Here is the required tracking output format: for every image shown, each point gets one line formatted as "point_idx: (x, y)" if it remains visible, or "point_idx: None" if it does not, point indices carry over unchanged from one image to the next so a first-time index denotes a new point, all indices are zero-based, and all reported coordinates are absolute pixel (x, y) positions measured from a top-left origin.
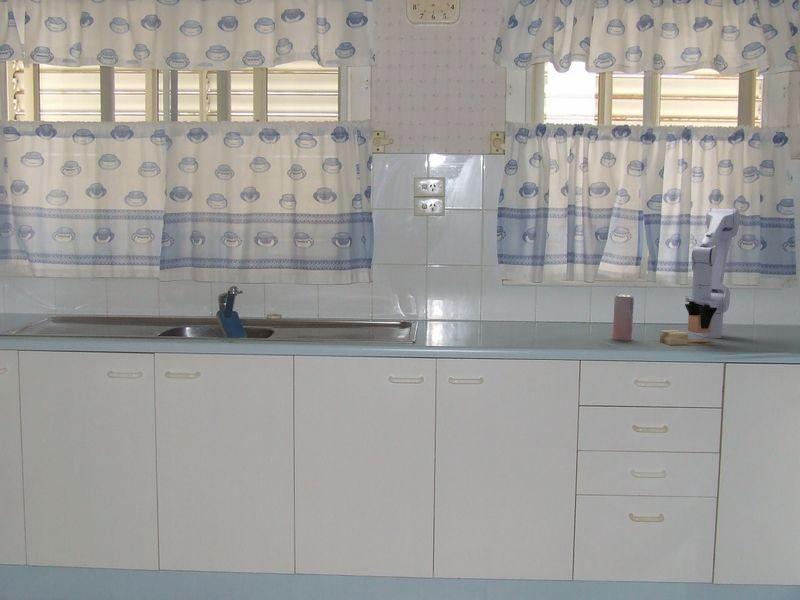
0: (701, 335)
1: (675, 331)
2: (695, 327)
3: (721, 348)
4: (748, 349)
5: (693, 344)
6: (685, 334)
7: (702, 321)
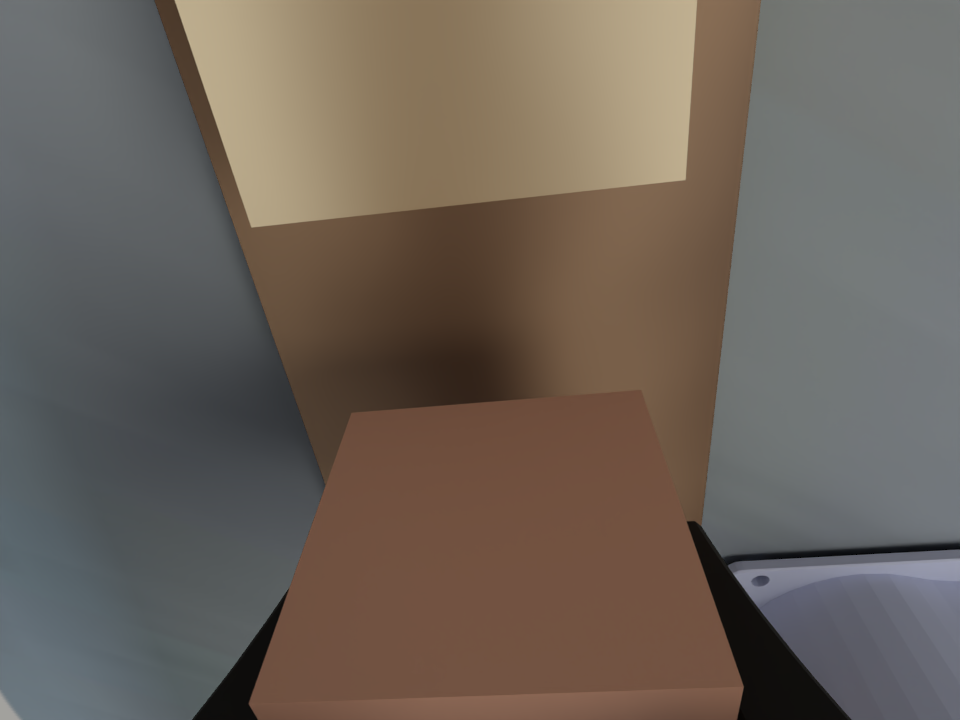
0: (862, 589)
1: (477, 15)
2: (385, 477)
3: (256, 492)
4: (245, 646)
5: (290, 245)
6: (242, 159)
7: (236, 665)
